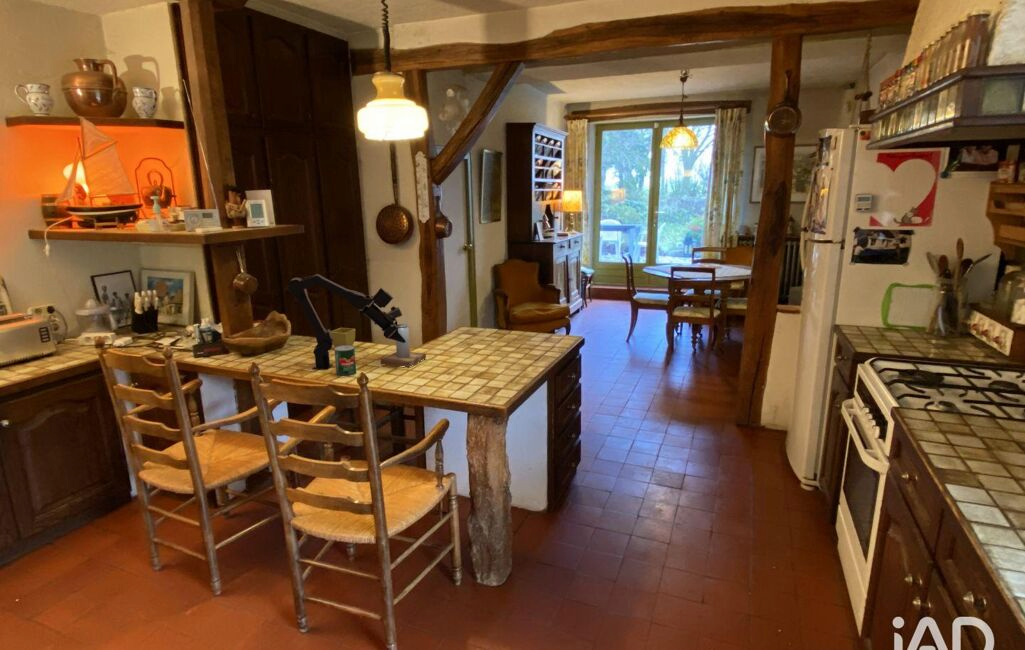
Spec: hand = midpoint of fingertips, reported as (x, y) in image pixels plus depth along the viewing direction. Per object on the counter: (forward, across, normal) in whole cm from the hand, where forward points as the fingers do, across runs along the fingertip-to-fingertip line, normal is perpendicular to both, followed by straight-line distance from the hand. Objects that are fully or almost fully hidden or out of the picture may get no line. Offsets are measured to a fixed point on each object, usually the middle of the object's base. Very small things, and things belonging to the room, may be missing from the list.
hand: (404, 339), depth 245 cm
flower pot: (-12, +29, +27) cm, 41 cm away
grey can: (+5, 0, +6) cm, 7 cm away
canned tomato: (-10, -12, +24) cm, 29 cm away
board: (+6, 0, +8) cm, 10 cm away
